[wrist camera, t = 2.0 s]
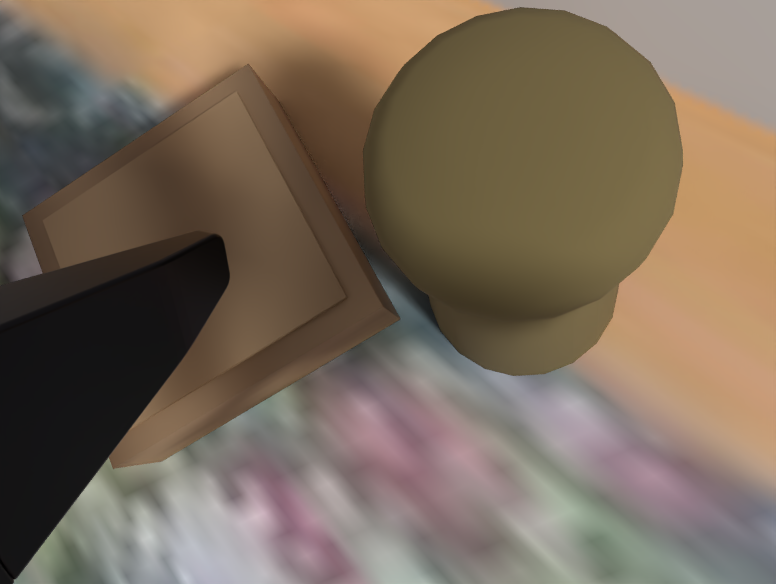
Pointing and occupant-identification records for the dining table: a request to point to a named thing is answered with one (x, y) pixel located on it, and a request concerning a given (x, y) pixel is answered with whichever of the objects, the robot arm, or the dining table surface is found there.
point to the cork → (523, 181)
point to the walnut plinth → (244, 254)
